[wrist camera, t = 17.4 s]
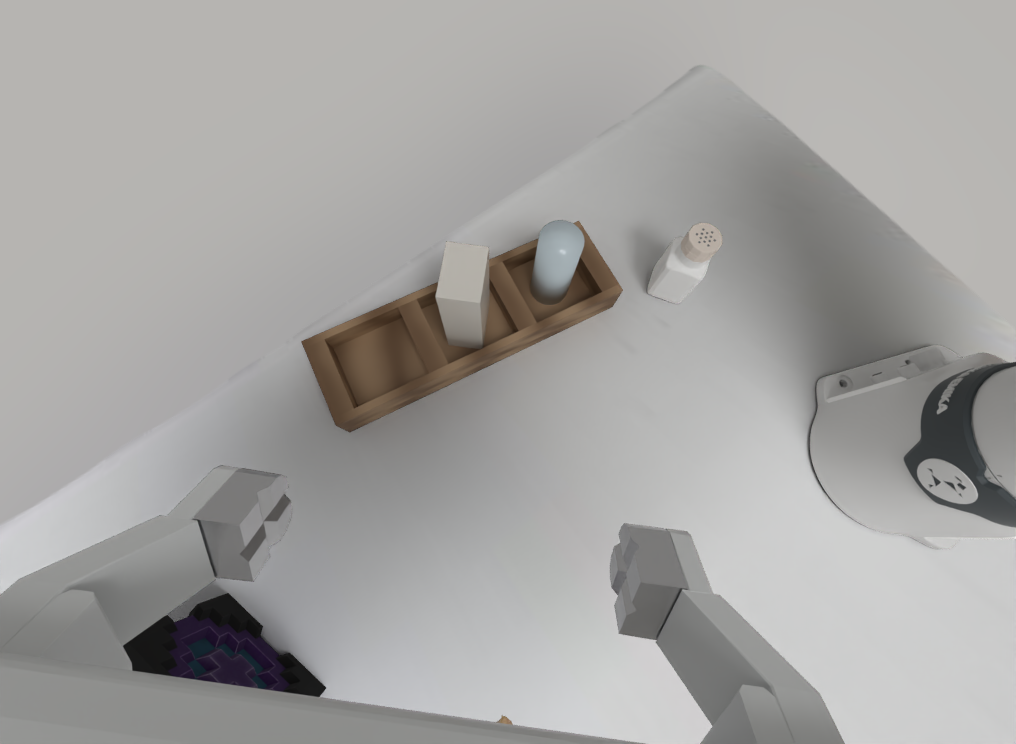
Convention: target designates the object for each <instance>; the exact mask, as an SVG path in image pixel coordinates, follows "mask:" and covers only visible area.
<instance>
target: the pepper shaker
mask: <svg viewBox="0 0 1016 744" xmlns="http://www.w3.org/2000/svg"><path fill="white" fill-rule="evenodd" d="M721 245H722V235H721V233H720V232H719V230H718V228H716V227H714V226H713V225H711V224H708V223H699V224H696V225H694V226H692V228H691V229H690V230H689V232H688V233H687V234H686V236H685V237H684V238H683V237H678V238H675V239H674V240H673V241H672V242H671V244H670V245H669V246H668V248H667V249H666V251H665V252H664V254H663V255H662V256H661V258H660V259H659V261H658V262H657V264H656V265H655V266H654V269H653V272H652V275H651V278H650V281H649V284H648V287H647V293H648V294H650V295H652V296H655V297H657V298H660V299H663V300H666V301H668V302H671V303H674V304H679V303H680V302H681V301H682V300H683V299H684V298H685V297H686V296H687V295H688V294H689V293H690V292H691V291H692V290H693V289H694V288H695V287H696V286H697V285H698V284H699V282H700V281H701V280H702V279H703V278H704V277H705V275H706V272H707V269H708V266H709V262H710V259H711V257H712V256H713V255H714V254H715V253H716V252H717V251H718V250H719V248H720V247H721Z"/></svg>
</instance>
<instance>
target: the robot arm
mask: <svg viewBox="0 0 1016 744" xmlns="http://www.w3.org/2000/svg"><path fill="white" fill-rule="evenodd" d="M839 382H840V383H841V384H842V387H841V386H840V384H839ZM816 392H817V403H818V409H817V413H816V416H815V419H814V422H813V425H812V429H811V435H810V452H811V458H812V463H813V466H814V469H815V472H816V475H817V477H818V479H819V481H820V483H821V485H822V487H823V488H824V490H825V491H826V493H827V494H828V496H829V497H830V498H831V499H832V501H833V502H834V503H835V504H836V505H837V506H838V507H839V508H840V509H841V510H842V511H843V512H844V513H845V514H847V515H848V516H849V517H851V518H852V519H854V520H855V521H857V522H858V523H860V524H862V525H864V526H866V527H868V528H870V529H873V530H876V531H879V532H883V533H889V534H898V535H905V536H909V537H911V538H913V539H915V540H917V541H919V542H921V543H922V544H924V545H926V546H928V547H931V548H934V549H951V548H953V547H954V546H955V545H956V544H957V542H958V541H959V540H960V539H1016V362H1013V363H1008V362H1006V361H1004V360H1003V359H1001V358H999V357H997V356H995V355H992V354H988V353H978V354H974V355H971V356H967V357H964V358H963V357H961V356H960V355H958V354H957V353H955V352H954V351H952V350H950V349H948V348H946V347H944V346H942V345H933V346H928V347H924V348H921V349H917V350H914V351H910V352H907V353H903V354H900V355H897V356H893V357H890V358H886V359H883V360H880V361H876V362H873V363H869V364H866V365H863V366H859V367H856V368H852V369H849V370H845V371H842V372H839V373H835V374H832V375H828V376H825V377H822V378H821V379H819V380H818V382H817V387H816ZM288 488H289V486H288V481H287V477H286V476H283V475H280V474H274V473H268V472H262V471H256V470H250V469H244V468H236V467H230V466H224V465H221V466H218V467H216V468H214V469H213V470H212V471H211V472H210V473H209V474H208V475H207V476H206V477H205V478H204V479H203V480H202V481H201V482H200V483H199V484H198V485H197V486H196V487H195V488H194V489H193V490H192V491H191V492H190V493H189V494H188V495H187V496H186V497H185V498H184V499H183V500H182V501H181V502H180V503H179V504H178V505H177V506H176V507H175V508H174V509H173V510H172V511H171V512H170V513H169V514H168V515H167V516H162V515H159V516H157V517H155V518H153V519H151V520H148V521H146V522H144V523H142V524H139V525H137V526H135V527H133V528H131V529H128V530H126V531H124V532H122V533H120V534H117V535H115V536H113V537H111V538H109V539H106V540H104V541H102V542H100V543H98V544H95V545H93V546H91V547H89V548H87V549H84V550H82V551H80V552H78V553H76V554H73V555H71V556H69V557H67V558H65V559H62V560H60V561H58V562H56V563H53V564H51V565H49V566H47V567H45V568H42V569H40V570H38V571H36V572H34V573H31V574H29V575H27V576H25V577H23V578H20V579H19V580H17V581H16V582H15V583H14V584H13V585H11V586H10V587H9V588H8V589H7V590H6V591H4V592H3V593H2V594H1V595H0V744H644V743H637V742H630V741H623V740H616V739H609V738H602V737H595V736H588V735H581V734H574V733H567V732H560V731H553V730H546V729H539V728H532V727H525V726H518V725H511V724H504V723H497V722H490V721H483V720H476V719H469V718H462V717H455V716H448V715H441V714H434V713H427V712H420V711H413V710H406V709H399V708H392V707H385V706H378V705H371V704H364V703H357V702H349V701H342V700H335V699H328V698H321V697H314V696H307V695H300V694H293V693H286V692H279V691H272V690H265V689H258V688H251V687H244V686H237V685H230V684H223V683H216V682H209V681H202V680H194V679H187V678H180V677H173V676H166V675H159V674H152V673H145V672H138V671H132V663H131V661H130V659H129V657H128V655H127V653H126V651H125V650H124V648H123V645H124V644H126V643H127V642H129V641H130V640H132V639H133V638H134V637H136V636H137V635H139V634H140V633H141V632H143V631H144V630H146V629H147V628H148V627H150V626H151V625H153V624H154V623H155V622H157V621H158V620H160V619H161V618H162V617H164V616H165V615H167V614H168V613H169V612H171V611H172V610H174V609H175V608H177V607H178V606H179V605H181V604H182V603H184V602H185V601H186V600H188V599H189V598H191V597H192V596H193V595H195V594H196V593H198V592H199V591H200V590H202V589H203V588H205V587H206V586H207V585H209V584H210V583H212V582H213V581H214V580H215V578H224V579H233V580H242V581H251V582H254V580H255V579H256V577H257V576H258V574H259V573H260V571H261V570H262V568H263V567H264V565H265V564H266V562H267V560H268V559H269V557H270V553H269V547H270V546H272V545H274V544H275V543H277V542H279V541H280V540H281V539H282V537H283V536H284V534H285V532H286V531H287V528H288V525H289V523H290V520H291V514H292V505H291V500H290V499H289V498H288V497H287V496H286V495H285V494H284V493H285V492H286V490H287V489H288ZM619 539H620V543H619V544H618V545H616V546H614V549H613V552H612V555H611V562H610V580H611V587H612V589H613V590H614V591H615V592H616V594H617V595H618V597H617V600H616V602H615V605H614V606H615V613H616V619H617V625H618V631H619V634H623V635H629V636H635V637H641V638H647V639H653V640H657V641H656V643H657V645H658V646H659V648H660V649H661V650H662V652H663V653H664V655H665V656H666V658H667V659H668V661H669V662H670V664H671V665H672V667H673V668H674V670H675V671H676V673H677V674H678V676H679V677H680V679H681V680H682V681H683V683H684V684H685V686H686V687H687V689H688V690H689V692H690V693H691V695H692V696H693V698H694V699H695V701H696V702H697V704H698V705H699V707H700V708H701V710H702V711H703V713H704V714H705V715H706V717H707V718H708V720H709V721H710V723H711V724H712V726H713V727H712V728H711V729H710V731H709V732H708V734H707V735H706V736H705V738H704V739H703V741H702V742H701V743H700V744H845V743H844V741H843V739H842V737H841V735H840V733H839V731H838V729H837V727H836V725H835V723H834V721H833V719H832V717H831V715H830V713H829V711H828V709H827V707H826V705H825V703H824V701H823V699H822V697H821V695H820V693H819V692H818V691H817V690H816V689H815V688H813V687H812V686H811V685H810V684H809V683H808V682H807V681H806V680H805V679H804V678H803V677H802V676H801V675H800V674H799V673H798V672H797V671H796V670H795V669H794V668H793V667H792V666H791V665H790V664H789V663H788V662H787V661H786V660H785V659H784V658H783V657H782V656H781V655H780V654H779V653H778V652H777V651H776V650H775V649H774V648H773V647H772V646H771V645H770V644H769V643H768V642H767V641H766V640H765V639H764V638H763V637H762V636H761V635H760V634H759V633H758V632H757V631H756V630H755V629H754V628H753V627H752V626H751V625H750V624H749V623H748V622H747V621H746V620H745V619H744V618H743V617H742V616H741V615H740V614H739V613H738V612H737V611H736V610H735V609H734V608H733V607H732V606H731V605H730V604H729V603H728V602H727V601H726V600H725V599H724V598H723V597H721V596H720V595H718V594H713V592H712V589H711V587H710V584H709V581H708V579H707V576H706V574H705V571H704V568H703V566H702V563H701V560H700V558H699V555H698V553H697V550H696V547H695V545H694V542H693V540H692V537H691V535H690V534H689V533H688V532H687V531H681V530H673V529H664V528H658V527H651V526H643V525H635V524H628V523H624V524H623V525H622V526H621V529H620V532H619Z"/></svg>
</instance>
